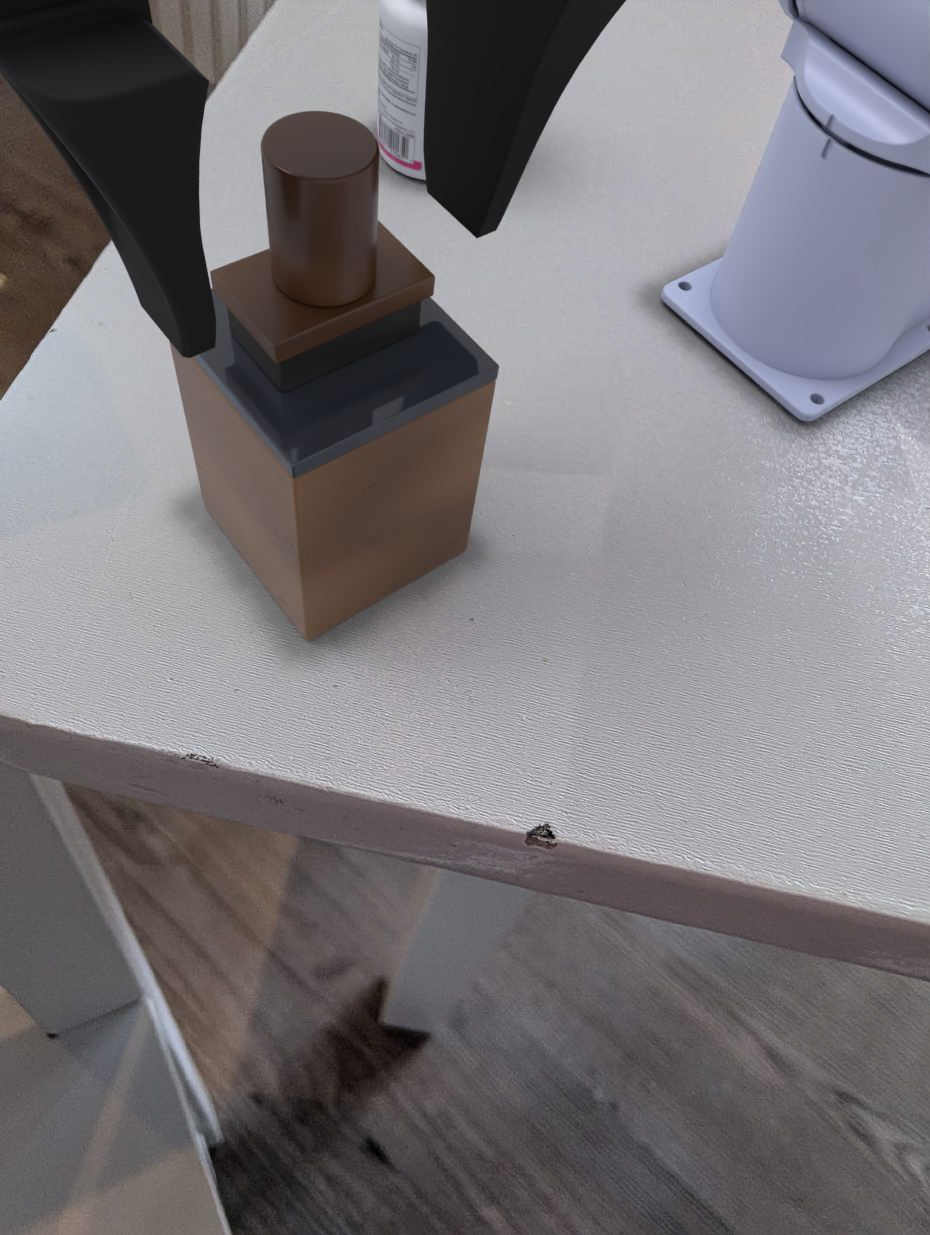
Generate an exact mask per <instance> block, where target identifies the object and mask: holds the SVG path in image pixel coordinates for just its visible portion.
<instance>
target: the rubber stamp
mask: <svg viewBox="0 0 930 1235" xmlns="http://www.w3.org/2000/svg"><path fill="white" fill-rule="evenodd" d="M260 155H261V166H262V167H261V168H262V178H263V179H262V180H263V190H264V191H263V192H264V198H265V199H264V202H265V213H266V225H267V226H266V227H267V235H268V237H267V238H268V248H267V249H264V250H261V251H259V252H256V253H253V254H251V255H248V256H246V257H243V258H240V259H238V260H235V261H231V262H230V263H227V264H225V265H222V266H219V267H217V268H214V269H211V270H210V271H209V276H210V281H211V282H210V283H211V289H212V288H213V292H214V293H215V294H216V295H217V296H218V297H219V299H220V300H221V301H222V302H223V303H224V304H225V305H226V307H227V312H228V319H229V326H230V333H231V334H232V335H233V336H234V337H235V339H236V340H237V341H238V342H239V343H240V344H241V346H242V347H243V348H244V349H245V350H246V351H247V352H248V354H249V355H250V356H251V357H252V358H253V359H254V361H255V362H256V363H257V364H258V365H259V366H260V368H261V369H262V370H263V371H264V372H265V373H266V375H267V376H268V377H269V378H270V379H271V380H272V382H273V383H274V384H275V385H276V386H277V387H278V389H279V390H280V391H281V392H282V393H285V392H287V391H289V390H291V389H293V388H296V387H298V386H300V385H302V384H304V383H307V382H309V381H311V380H313V379H315V378H318V377H320V376H322V375H324V374H327V373H329V372H331V371H333V370H335V369H338V368H340V367H342V366H344V365H346V364H349V363H351V362H353V361H355V360H358V359H360V358H362V357H364V356H366V355H369V354H371V353H373V352H375V351H377V350H380V349H382V348H384V347H386V346H389V345H391V344H393V343H395V342H397V341H400V340H402V339H404V338H406V337H408V336H411V335H413V334H415V333H417V332H418V331H419V325H420V312H421V301H422V300H424V299H426V298H428V297H431V298H432V296H434V294H435V283H436V276H435V274H434V273H433V272H432V270H430V269H429V268H428V267H427V266H426V265H425V264H423V262H422V261H421V260H420V259H419V258H418V257H416V255H415V254H414V253H413V252H412V251H410V249H409V248H408V247H406V246H405V245H404V243H402V242H401V240H399V239H398V238H397V237H396V236H395V235H394V234H393V233H392V232H391V231H390V230H389V229H388V228H387V227H386V226H385V225H384V224H383V223H382V222H381V221H380V220H379V194H380V193H379V190H380V187H379V186H380V156H381V153H380V150H379V145H378V141H377V137H376V136H375V134H374V133H373V132H372V131H371V129H370V128H369V127H367V126H366V125H365V124H363V123H362V122H360V121H359V120H357V119H355V118H353V117H350V116H348V115H345V114H341V113H338V112H334V111H328V110H327V111H326V110H306V111H304V110H303V111H299V112H294V113H291V114H288V115H287V114H286V115H284V116H282V117H280V118H278V119H277V120H275V121H274V122H272V123H271V124H270V125H269V126H267V128H266V129H265V131H264V133H263V135H262V137H261V140H260Z"/></svg>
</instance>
